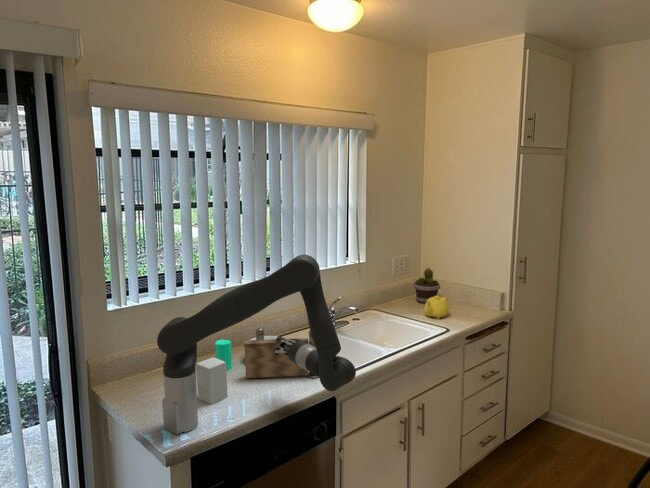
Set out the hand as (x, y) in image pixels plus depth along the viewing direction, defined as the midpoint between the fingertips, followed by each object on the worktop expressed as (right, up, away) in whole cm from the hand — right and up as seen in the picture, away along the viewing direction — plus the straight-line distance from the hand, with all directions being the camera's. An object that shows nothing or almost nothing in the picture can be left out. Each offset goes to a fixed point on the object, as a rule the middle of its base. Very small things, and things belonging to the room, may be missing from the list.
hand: (278, 339), depth 173 cm
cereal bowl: (-8, -14, +32) cm, 36 cm away
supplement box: (-22, -20, -1) cm, 30 cm away
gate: (-2, -16, +15) cm, 22 cm away
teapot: (+73, -5, +87) cm, 113 cm away
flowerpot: (+73, 0, +114) cm, 135 cm away
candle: (-23, -16, +24) cm, 37 cm away
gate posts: (+2, -16, +17) cm, 24 cm away
